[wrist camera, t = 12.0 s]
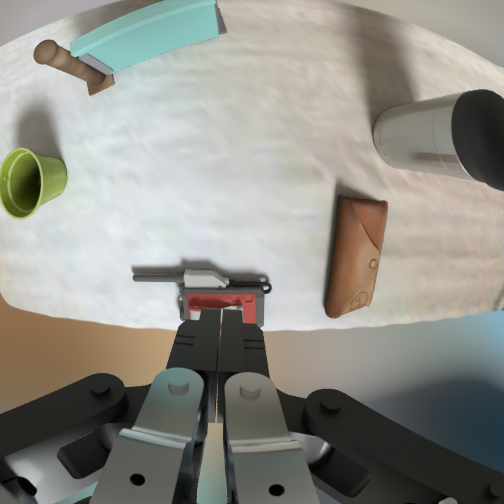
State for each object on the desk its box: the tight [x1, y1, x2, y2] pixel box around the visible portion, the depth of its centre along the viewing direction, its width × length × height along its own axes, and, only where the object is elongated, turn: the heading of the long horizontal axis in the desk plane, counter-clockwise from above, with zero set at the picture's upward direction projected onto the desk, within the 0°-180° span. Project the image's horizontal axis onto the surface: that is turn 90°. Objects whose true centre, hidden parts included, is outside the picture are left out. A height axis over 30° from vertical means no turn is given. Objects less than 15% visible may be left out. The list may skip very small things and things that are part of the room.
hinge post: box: [34, 40, 115, 96], centre depth 24 cm, size 4×4×16 cm
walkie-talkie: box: [133, 269, 272, 328], centre depth 40 cm, size 9×4×20 cm
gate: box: [70, 0, 219, 75], centre depth 25 cm, size 16×2×11 cm, turn 104°
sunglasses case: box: [325, 195, 388, 318], centre depth 40 cm, size 18×7×7 cm
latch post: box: [214, 0, 227, 35], centre depth 24 cm, size 4×4×13 cm
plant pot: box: [0, 147, 67, 220], centre depth 31 cm, size 9×9×9 cm
